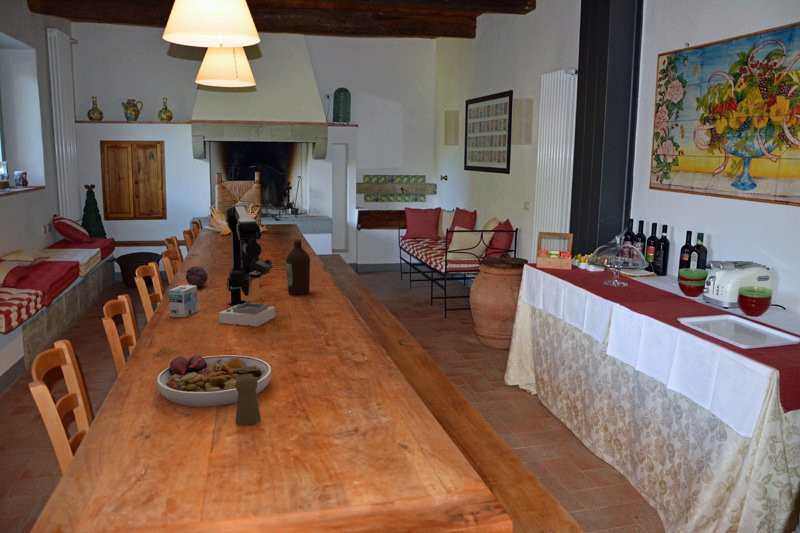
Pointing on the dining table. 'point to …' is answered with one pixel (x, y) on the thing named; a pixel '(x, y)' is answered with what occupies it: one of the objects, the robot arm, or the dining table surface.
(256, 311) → the white recessed base box
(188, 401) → the bowl
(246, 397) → the salt shaker
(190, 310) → the light bulb box
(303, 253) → the olive oil
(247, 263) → the robot arm
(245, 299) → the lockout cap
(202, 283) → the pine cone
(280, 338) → the dining table surface
